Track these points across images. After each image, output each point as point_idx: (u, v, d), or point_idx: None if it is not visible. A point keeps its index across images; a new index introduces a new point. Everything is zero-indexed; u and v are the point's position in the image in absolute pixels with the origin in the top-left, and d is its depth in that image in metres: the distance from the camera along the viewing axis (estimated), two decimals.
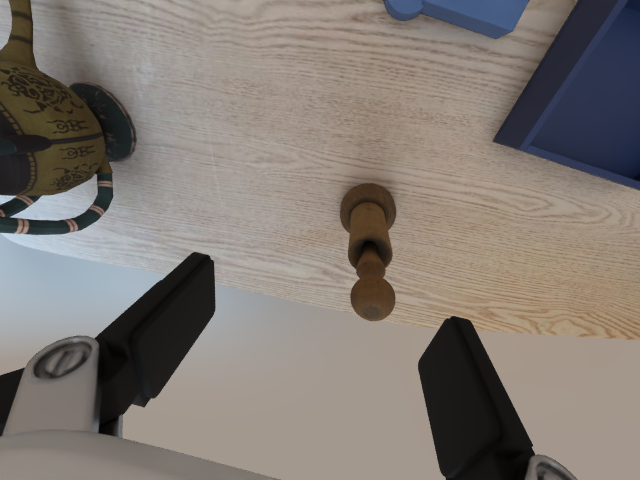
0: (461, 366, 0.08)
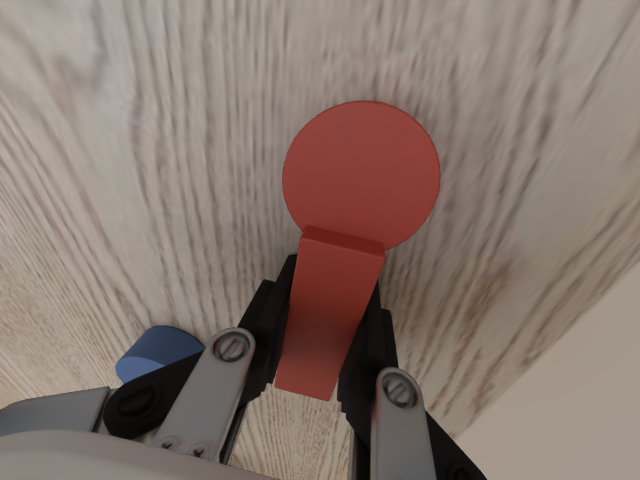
0: None
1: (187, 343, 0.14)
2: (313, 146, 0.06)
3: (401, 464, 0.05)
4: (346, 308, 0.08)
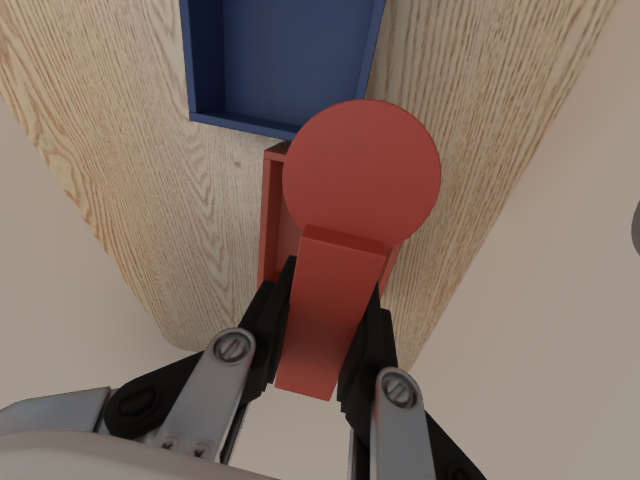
0: None
1: None
2: (313, 145, 0.06)
3: (400, 464, 0.05)
4: (346, 308, 0.08)
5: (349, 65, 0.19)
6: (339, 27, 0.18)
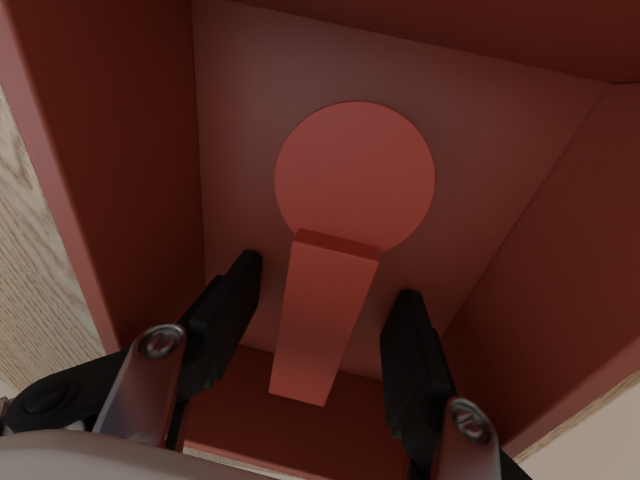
0: (406, 329, 0.09)
1: None
2: (305, 147, 0.06)
3: None
4: (340, 313, 0.08)
5: None
6: None
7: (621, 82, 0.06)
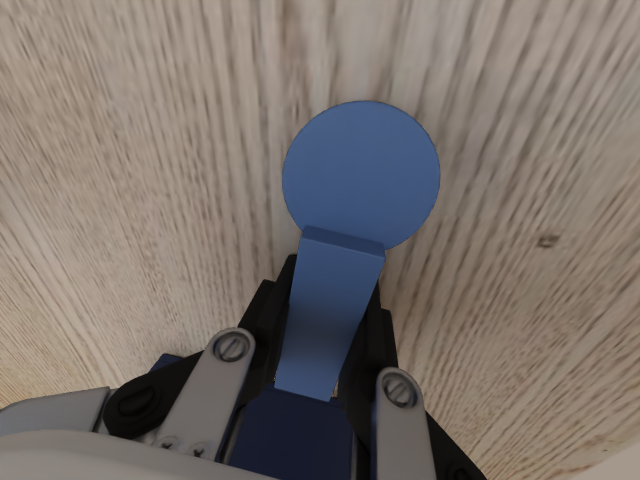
0: None
1: None
2: None
3: (401, 464, 0.05)
4: None
5: None
6: None
7: None
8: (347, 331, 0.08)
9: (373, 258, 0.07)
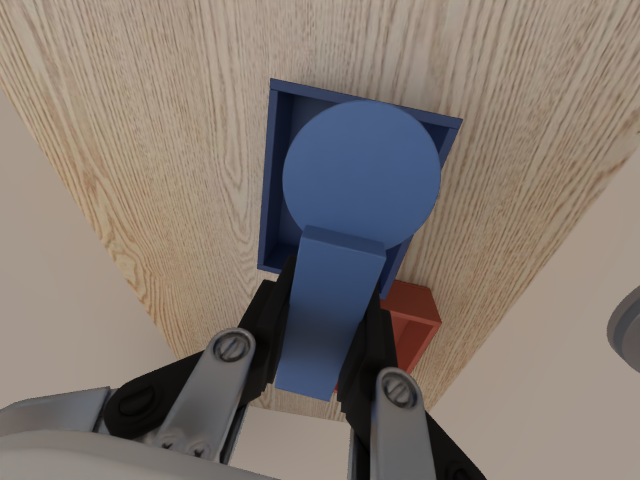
0: None
1: None
2: None
3: (401, 464, 0.05)
4: None
5: None
6: None
7: None
8: (347, 331, 0.08)
9: (374, 258, 0.07)
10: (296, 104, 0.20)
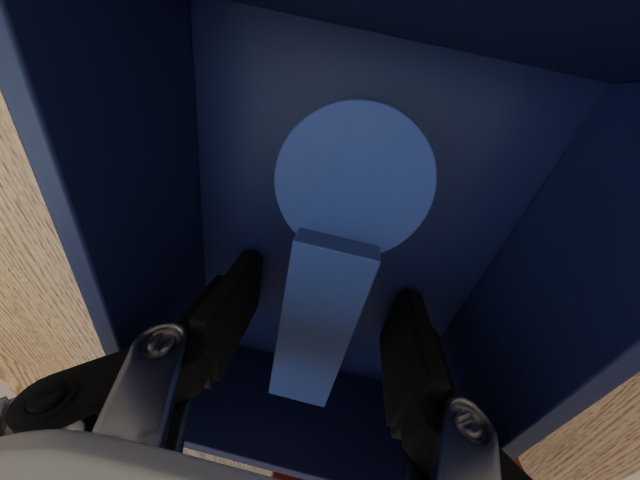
0: (406, 329, 0.08)
1: None
2: None
3: None
4: None
5: None
6: (414, 277, 0.10)
7: None
8: (342, 336, 0.08)
9: (368, 262, 0.07)
10: (200, 30, 0.07)
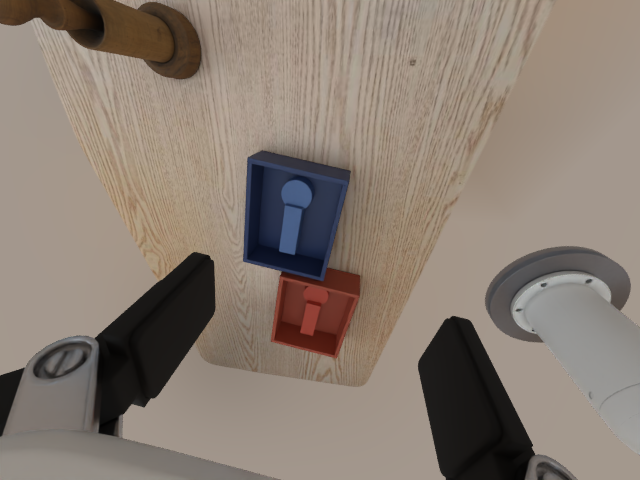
0: (461, 366, 0.08)
1: (309, 181, 0.34)
2: (308, 289, 0.41)
3: None
4: (315, 314, 0.42)
5: (324, 232, 0.38)
6: (318, 218, 0.37)
7: None
8: (296, 229, 0.35)
9: (299, 209, 0.33)
10: None
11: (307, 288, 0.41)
